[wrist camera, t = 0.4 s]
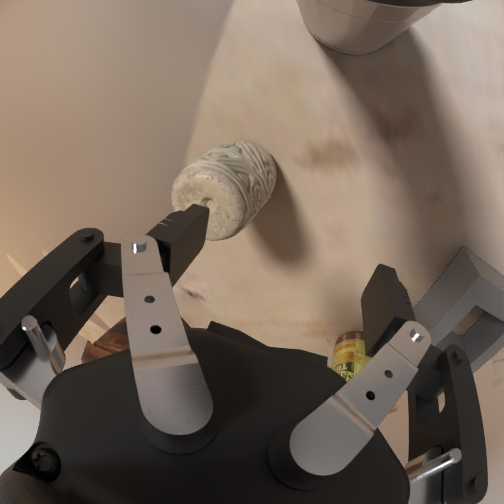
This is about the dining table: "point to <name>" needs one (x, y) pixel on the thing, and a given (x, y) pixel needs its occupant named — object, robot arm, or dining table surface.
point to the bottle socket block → (465, 308)
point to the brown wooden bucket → (109, 342)
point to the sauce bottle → (349, 355)
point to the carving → (227, 186)
